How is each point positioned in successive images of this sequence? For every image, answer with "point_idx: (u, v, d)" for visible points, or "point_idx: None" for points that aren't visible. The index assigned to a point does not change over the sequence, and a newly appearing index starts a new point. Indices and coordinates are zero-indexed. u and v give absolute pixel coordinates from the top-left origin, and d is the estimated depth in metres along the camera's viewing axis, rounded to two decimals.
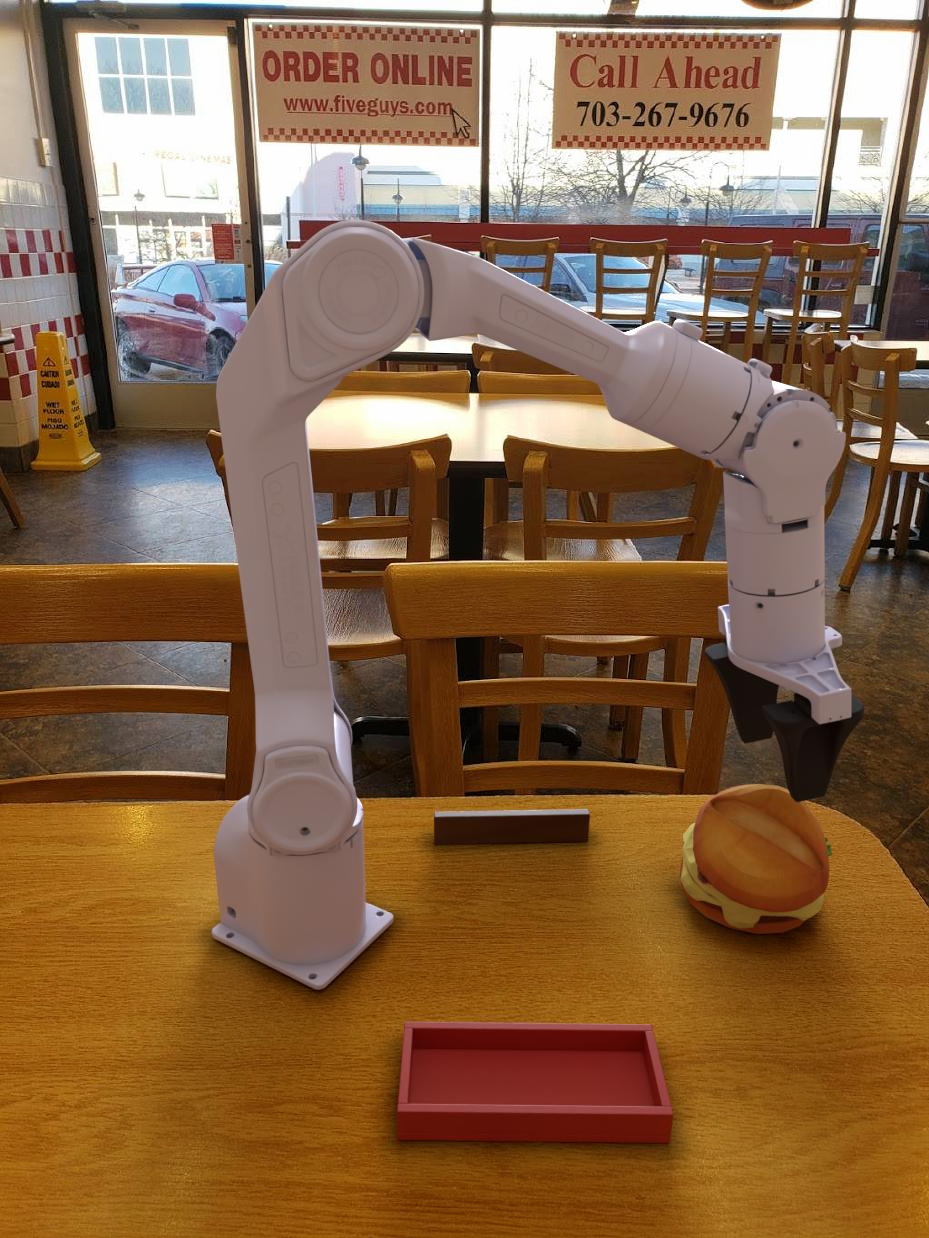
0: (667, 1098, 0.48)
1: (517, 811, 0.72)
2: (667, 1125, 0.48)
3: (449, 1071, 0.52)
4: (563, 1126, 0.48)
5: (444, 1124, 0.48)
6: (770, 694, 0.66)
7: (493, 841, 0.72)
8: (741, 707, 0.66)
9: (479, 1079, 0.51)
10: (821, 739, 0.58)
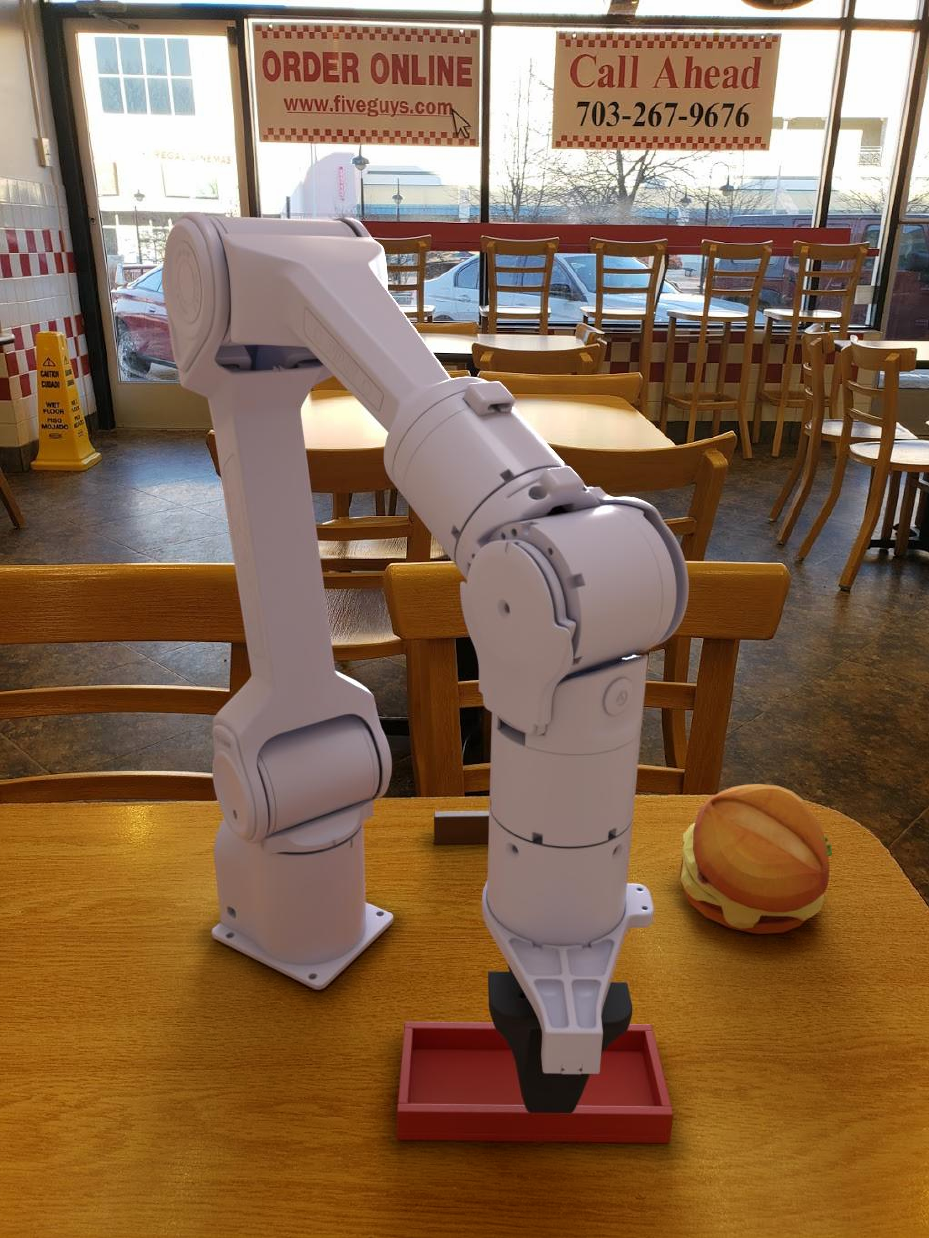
0: (667, 1098, 0.48)
1: None
2: (667, 1125, 0.48)
3: (449, 1071, 0.52)
4: (563, 1126, 0.48)
5: (444, 1124, 0.48)
6: None
7: None
8: None
9: (479, 1079, 0.51)
10: None
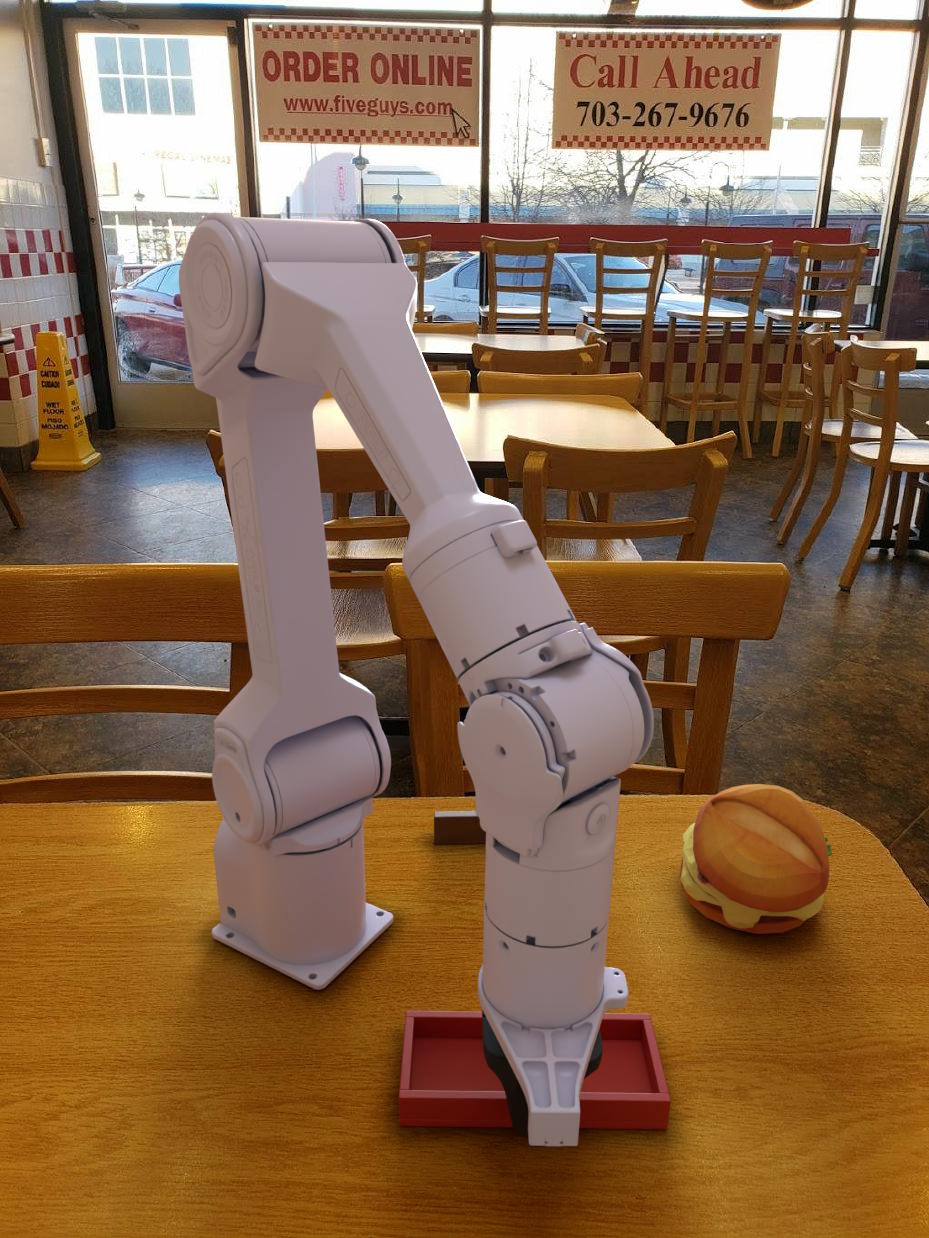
0: (665, 1085, 0.49)
1: None
2: (664, 1112, 0.49)
3: (450, 1059, 0.52)
4: None
5: (445, 1110, 0.49)
6: None
7: None
8: None
9: (479, 1067, 0.52)
10: None
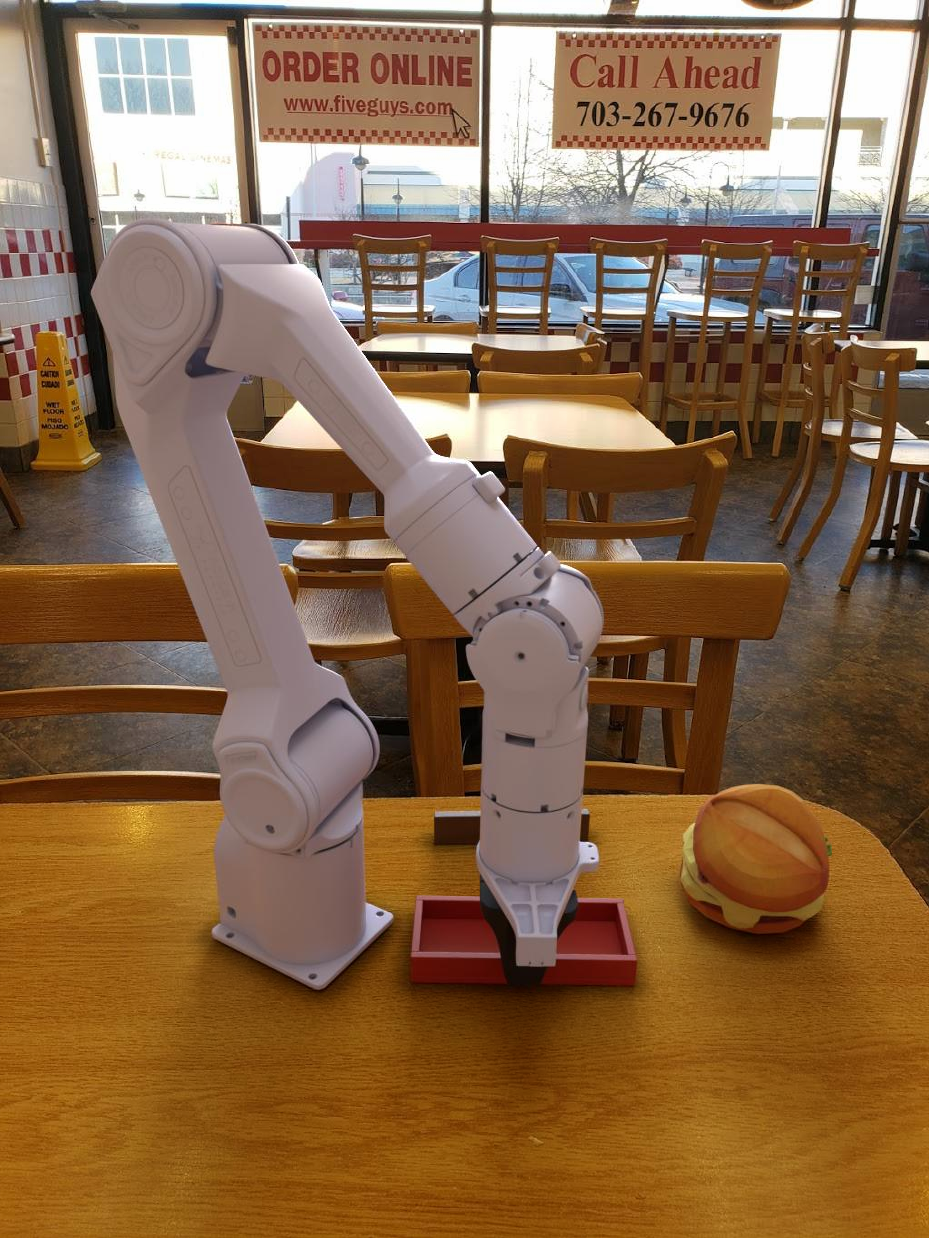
0: (633, 949, 0.59)
1: None
2: (632, 970, 0.58)
3: (453, 934, 0.62)
4: (547, 970, 0.58)
5: (449, 968, 0.58)
6: None
7: None
8: None
9: (478, 940, 0.62)
10: None
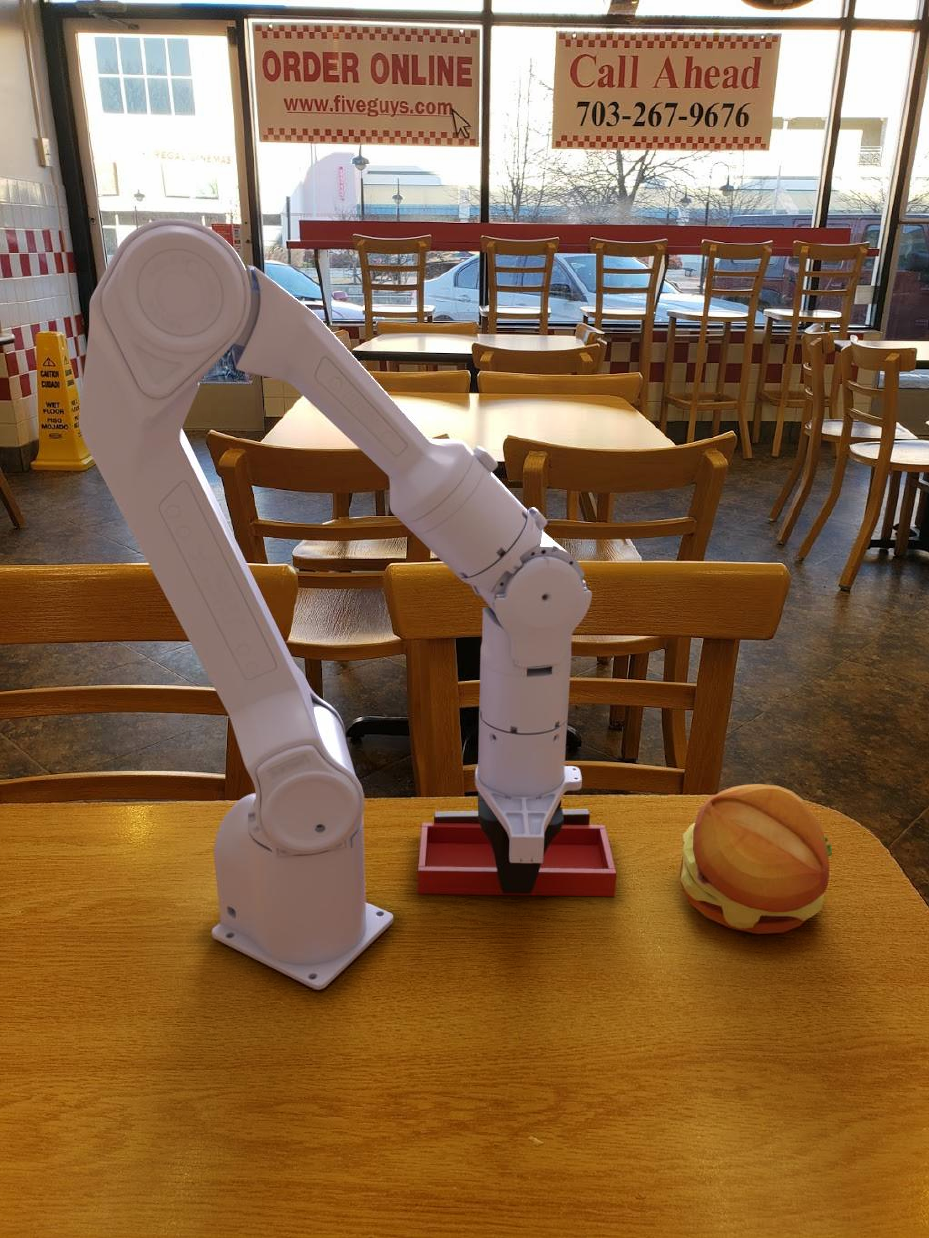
0: (613, 864, 0.67)
1: None
2: (612, 882, 0.66)
3: (455, 855, 0.70)
4: (537, 882, 0.66)
5: (451, 881, 0.66)
6: None
7: None
8: None
9: (477, 860, 0.70)
10: None
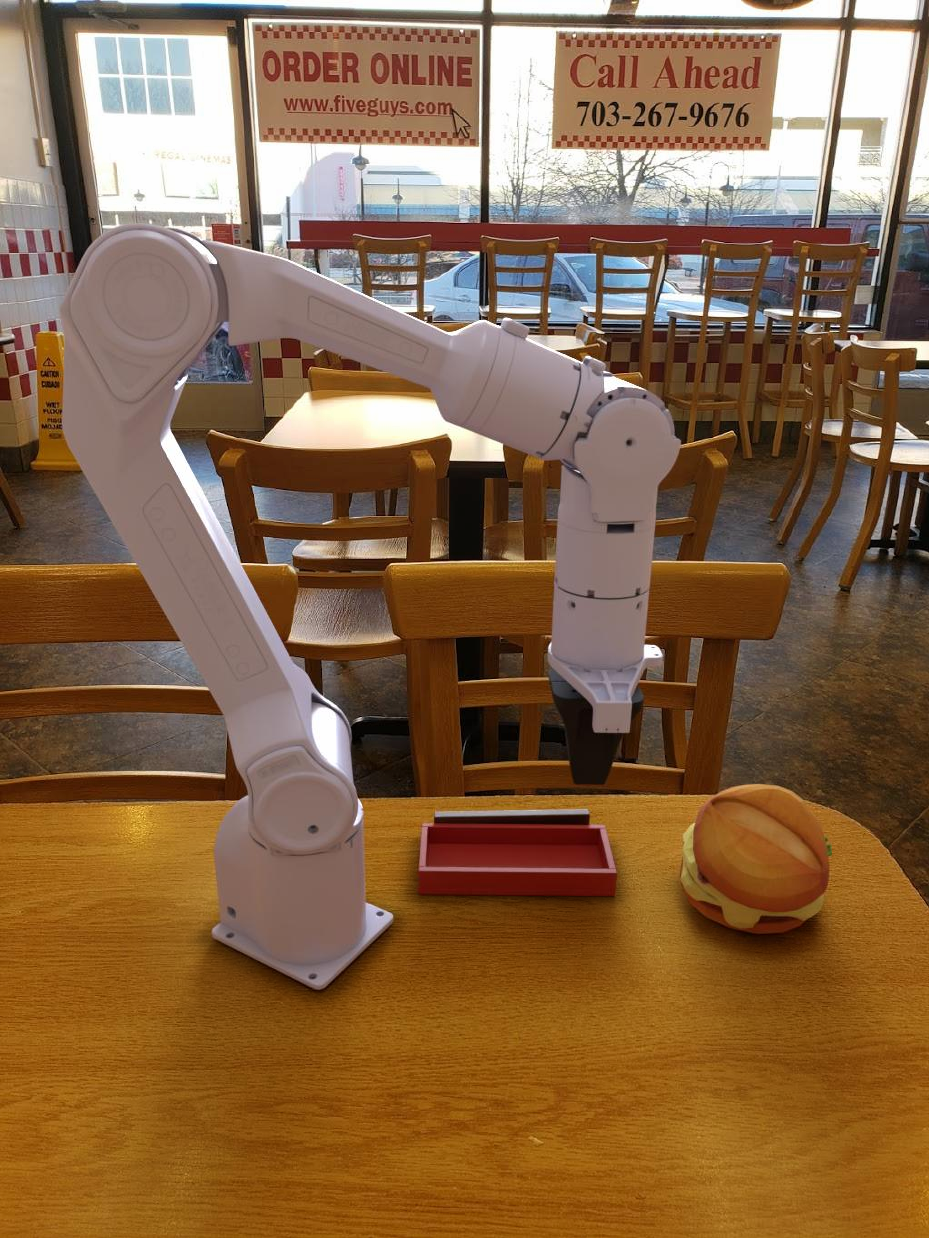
0: (613, 864, 0.67)
1: (517, 811, 0.72)
2: (612, 881, 0.66)
3: (455, 856, 0.70)
4: (538, 882, 0.66)
5: (452, 881, 0.66)
6: None
7: None
8: None
9: (477, 860, 0.70)
10: None
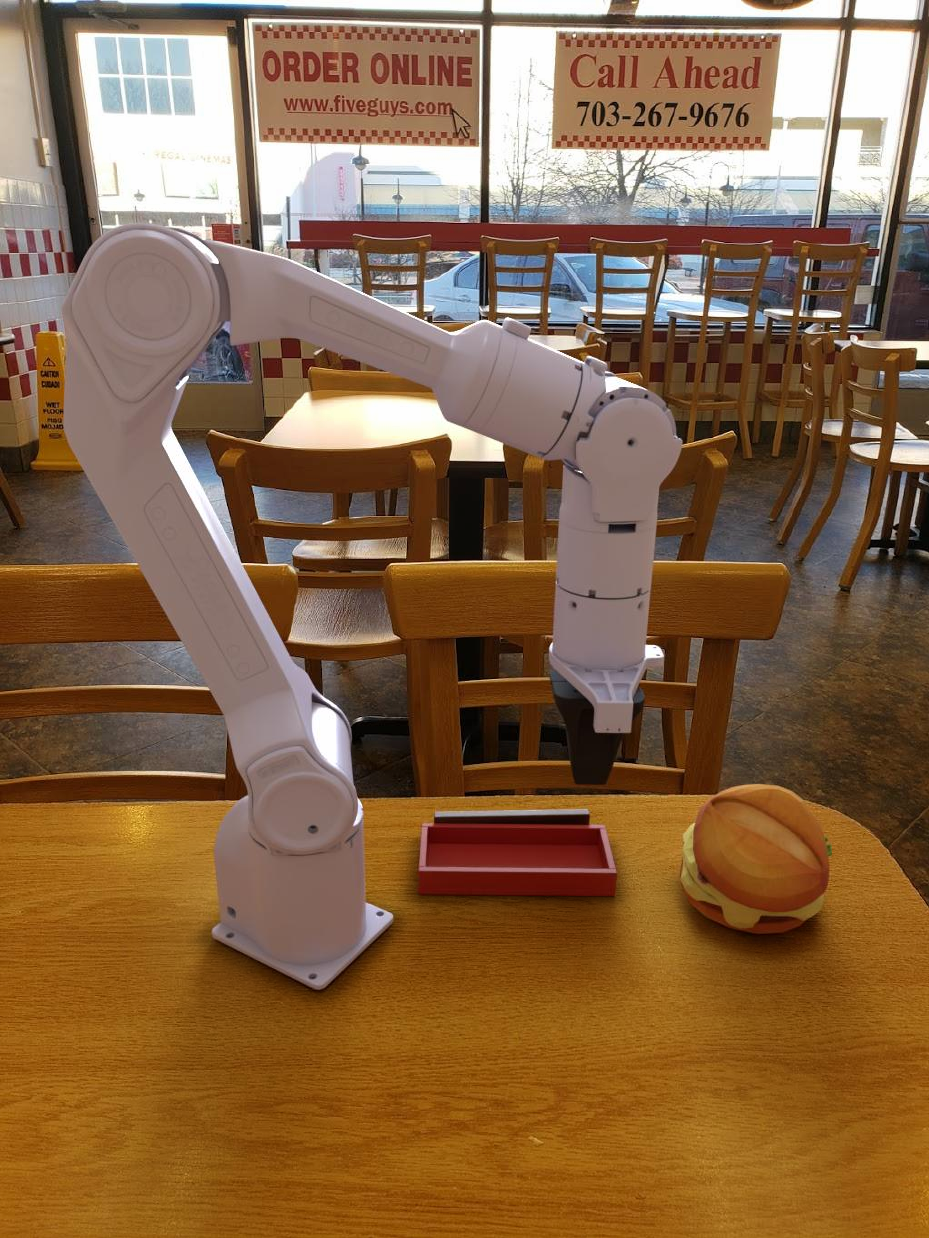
0: (613, 864, 0.67)
1: (517, 811, 0.72)
2: (612, 881, 0.66)
3: (455, 856, 0.70)
4: (538, 882, 0.66)
5: (452, 881, 0.66)
6: None
7: None
8: None
9: (477, 860, 0.70)
10: None
